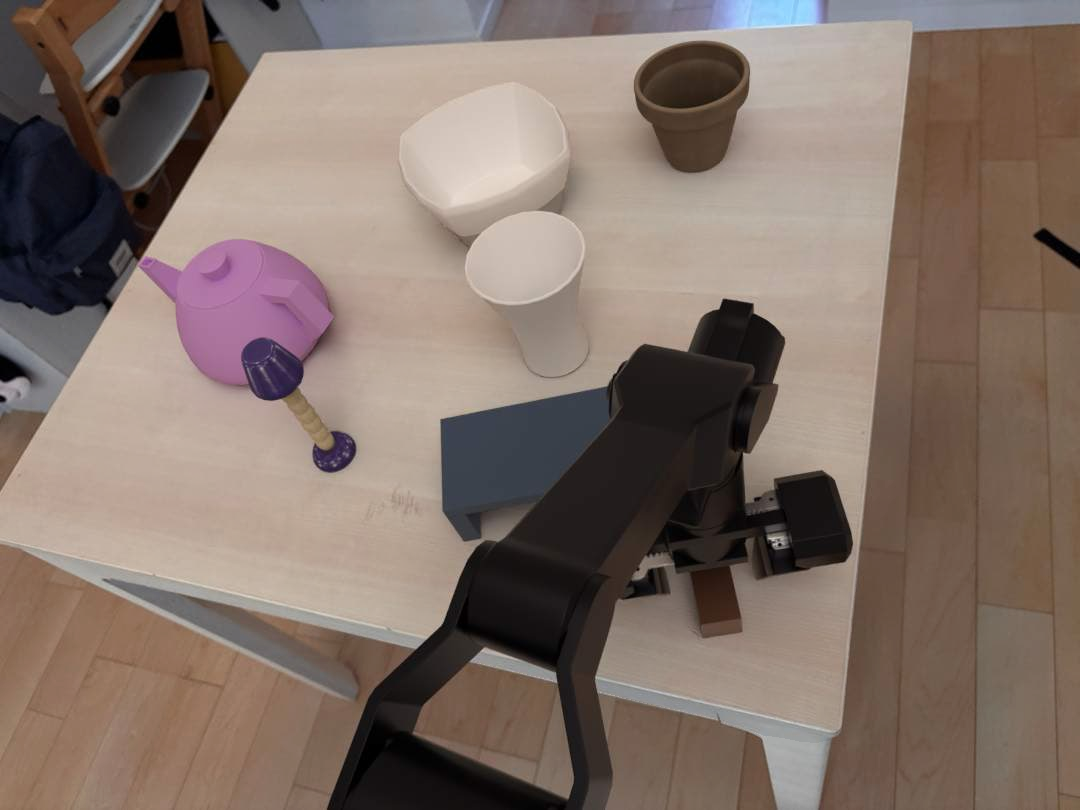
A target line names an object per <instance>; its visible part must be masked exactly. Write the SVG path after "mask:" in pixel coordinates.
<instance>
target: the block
mask: <svg viewBox="0 0 1080 810" xmlns="http://www.w3.org/2000/svg"><path fill="white" fill-rule="evenodd" d="M689 575H690V581H691V584H692V589H693V595H694V599H695V604H696V610H697V615H698V616H697V617H698V619H699V620H698V621H699V625H700V630H701V636H702V639H708V638H713V637H720V636H727V635H733V634H739V633H743V619H742V615H741V610H740V606H739V601H738V598H737V593H736V587H735V584H734V583H735V582H734V579H733V574H732V569H731V565H729V566H723V567H717V568H711V569H705V570H699V571H693V572H689Z"/></svg>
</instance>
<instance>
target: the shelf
mask: <svg viewBox="0 0 1080 810" xmlns="http://www.w3.org/2000/svg"><path fill="white" fill-rule="evenodd" d="M607 387H608V385H606V386H602V387H595V388H592V389H588V390H581V391H578V392H571V393H565V394H562V395H556V396H551V397H546V398H541V399H536V400H535V399H534V400H530V401H525V402H521V403H515V404H509V405H505V406H501V407H495V408H490V409H485V410H480V411H479V410H478V411H475V412H469V413H464V414H458V415H454V416H449V417H445V418H440V460H441V461H440V462H441V463H440V464H441V467H440V469H441V504H442V505H441V507H442V509H441V510H442V513H443V514H444V515H445V517H446V518H447V520H448V521H449V522H450V524H451V526H452V527H453V529H454V530H455V531H456V532H457V534H458V535H459V537H460V538H461V540H462V541H463V542H469V541H474V540H481V539H482V528H481V512H486V511H490V510H496V509H502V508H508V507H513V506H519V505H525V504H531V503H536V502H537V501H538V500H539V499H540V498H541V497H542V496H543V495H544V494H545V493H546V491H547V490H548V489H549V488H550V487H551V486H552V485H553V484H554V483H555V481H556V480H557V479H558V478H559V477H560V476H561V475H562V474H563V473H564V472H565V470H566V469H567V468H568V467H569V466H570V465H571V464H572V463H573V462H574V461H575V459H576V458H577V457H578V456H579V455H580V454H581V453H582V452H583V451H584V450H585V448H586V447H587V446H588V445H589V444H590V443H591V442H592V441H593V440H594V438H595V437H596V436H597V435H598V434H599V433H600V432H601V431H602V430H603V429H604V427H605V426H606V425H607V424H608V423H609V422H610V421H611V419H610V416H609V401H608V400H607V397H606V391H607Z"/></svg>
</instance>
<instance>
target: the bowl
mask: <svg viewBox="0 0 1080 810" xmlns="http://www.w3.org/2000/svg"><path fill="white" fill-rule="evenodd" d="M571 158H572V148H571V138H570V131H569V129H568V127H567V125H566V123H565V121H564V119H563V117H562V115H561V113H560V111H559V109H558V108H557V107H556V106H555V105H554V104H552V103H551V102H550V101H549V100H548V99H547V98H545V97H544V96H543V95H542V94H540V93H539V92H538V91H537V90H535V89H532V88H530V87H527V86H526V85H524V84H522V83H519V82H517V81H508V82H504V83H500V84H495V85H489V86H485V87H482V88H479V89H476V90H475V91H471V92H469V93H466V94H463V95H460V96H457V97H456V98H455V97H454V98H453V99H451V100H449V101H447V102H446V103H443V104H442V105H441V106H439V107H437V108H435V109H434V110H432V111H429V112H428V113H427V114H425V115H423V116H422V117H421V118H419V119H418V120H417V121H416V122H415V123H413V124H412V125H411V126H410V127H409V128H407V129H406V130H405V131H403V132H402V133H401V135H400V136H399V142H398V159H397V162H398V167H399V171H400V174H401V177H402V182H403V185H404V188H405V189H406V190H407V191H408V192H409V193H410V194H411V195H412V196H413V198H415V200H416V201H417V202H418V203H419V205H420V206H422V207H423V208H424V209H425V210H426V211H427V212H429V213H430V215H432V217H434V218H435V219H436V220H437V221H438V222H439V223H440V224H441V225H443V226H444V227H445V228H446V229H448V231H450V232H451V233H452V234H453V235H454V237H456V238H457V239H458V240H459V241H461V242H462V243H463V244H464V245H465V246H466V247H468V248H469V249H470V248H471V246H472V244H473V242H474V241H475V240H476V239H477V238H478V236H479V235H480V234H481V233H482V232H483V231H484V230H486V229H487V228H488V227H490V226H491V225H492V224H494V223H495V222H497V221H499V220H501V219H503V218H506V217H508V216H511V215H514V214H518V213H521V212H530V211H545V212H553V213H555V214H558V215H561V210H562V205H563V199H564V193H565V188H566V185H567V181H568V180H567V179H568V174H569V168H570V163H571Z"/></svg>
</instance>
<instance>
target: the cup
mask: <svg viewBox="0 0 1080 810" xmlns="http://www.w3.org/2000/svg"><path fill="white" fill-rule="evenodd" d="M586 246H587V245H586V241H585V237H584V235H583V232H582V231H581V230H580V228H579V226H577V224H576V223H574V222H573V221H572V220H570V219H569V218H568V217H566V216H564V215H561V214H559V215H558V214H555V213H553V212H545V211H530V212H521V213H518V214H514V215H511V216H508V217H506V218H503V219H501V220H499V221H497V222H495V223H494V224H492V225H491V226H490V227H488V228H487V229H486V230H484V231H483V232H482V233H481V234H480V235H479V236H478V238H477V239H476V240H475V241H474V242H473V244H472V246H471V248H469V249H468V251H467V253H466V256H465V262H464V274H465V279H466V281H467V283H468V285H469V287H470V288H471V290H472V291H474V292H475V294H477V296H479V297H480V298H481V299H482V300H484V302H486V303H487V304H488V306H489V307H491V308H492V309H493V310H494V311H495V312H496V313H497V314H498V315H499V316H500V317H501V318H502V319H503V320H505V321H506V323H507V324H508V326H509V327H510V329H511V330H512V331H513V333H514V335H515V337H516V339H517V341H518V342H519V345H520V348H521V352H522V357H523V361H524V364H525V365H526V367H527V369H528V370H530V371H531V372H532V373H534V374H536V375H538V376H540V377H545V378H559V377H562V376H566V375H568V374H570V373H572V372H574V371H576V370H577V369H578V368H579V367H580V366H581V365H583V363H584V362H585V360H586V359H587V357H588V354H589V352H590V342H589V338H588V335H587V333H586V331H585V328H584V327H583V324H582V320H581V316H580V315H581V314H580V311H579V309H580V308H579V293H580V287H581V281H582V280H581V279H582V274H583V269H584V263H585V259H586V258H585V257H586V249H587V248H586Z"/></svg>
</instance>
